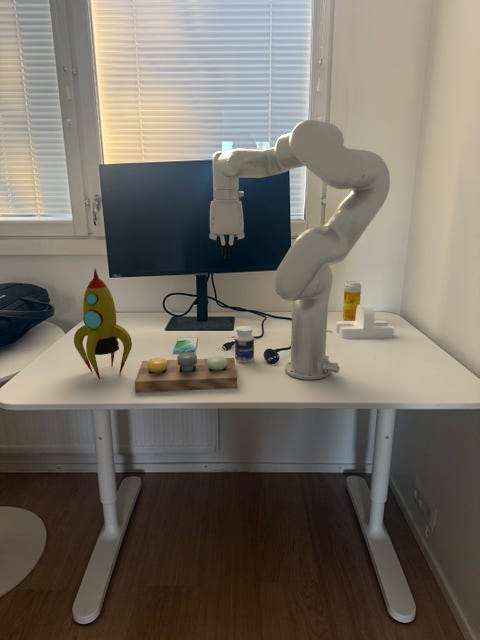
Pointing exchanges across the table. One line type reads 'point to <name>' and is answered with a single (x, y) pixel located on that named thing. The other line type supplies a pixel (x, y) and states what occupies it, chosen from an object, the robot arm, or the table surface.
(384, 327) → the u-slot stand
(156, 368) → the button amber
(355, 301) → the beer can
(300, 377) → the robot arm
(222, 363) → the button sage
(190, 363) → the grey rounded lump
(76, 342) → the toy rocket
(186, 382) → the console
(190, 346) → the smartphone
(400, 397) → the table surface
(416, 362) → the table surface
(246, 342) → the pill bottle
